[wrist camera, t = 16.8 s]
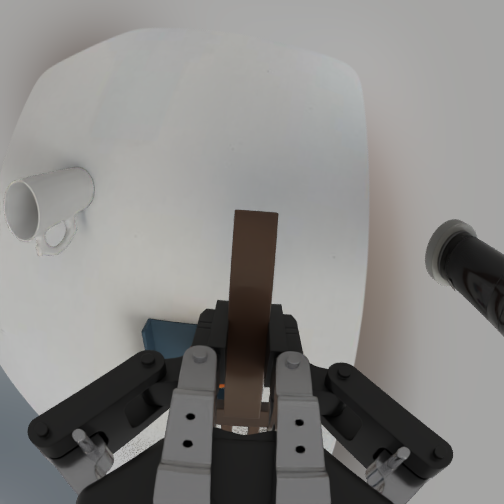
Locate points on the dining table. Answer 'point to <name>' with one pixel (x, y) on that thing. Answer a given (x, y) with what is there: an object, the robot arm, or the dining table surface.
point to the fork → (248, 320)
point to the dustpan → (170, 339)
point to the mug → (47, 206)
